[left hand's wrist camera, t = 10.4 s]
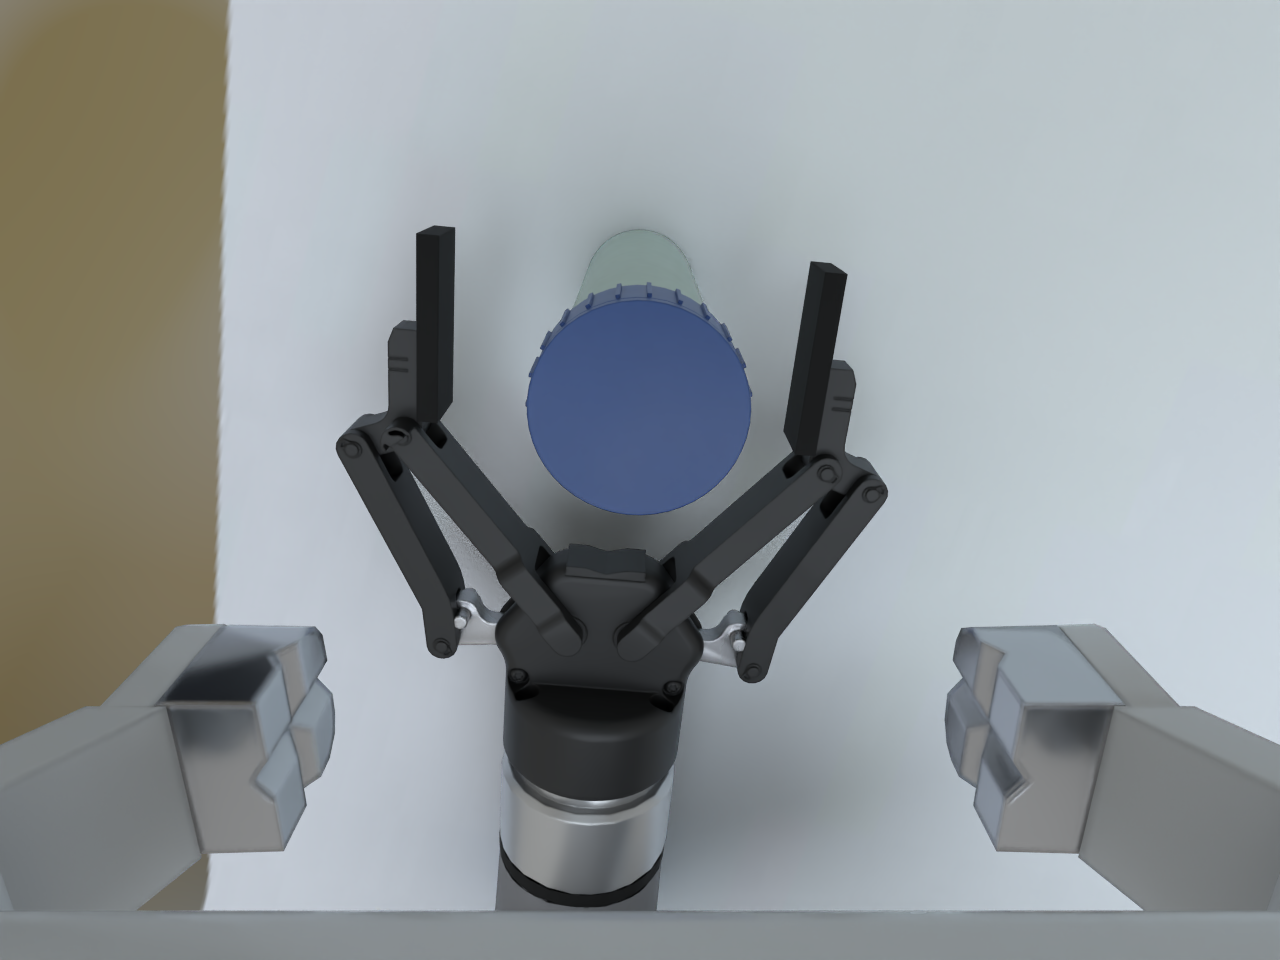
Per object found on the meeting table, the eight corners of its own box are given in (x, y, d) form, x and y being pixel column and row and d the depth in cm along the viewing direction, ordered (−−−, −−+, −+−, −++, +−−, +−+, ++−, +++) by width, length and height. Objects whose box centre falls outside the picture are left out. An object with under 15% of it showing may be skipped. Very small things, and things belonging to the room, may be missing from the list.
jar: (627, 207, 36) (617, 270, 19) (713, 273, 37) (774, 387, 20) (565, 295, 37) (505, 426, 20) (649, 356, 38) (657, 529, 21)
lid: (615, 235, 20) (613, 246, 18) (787, 366, 22) (802, 389, 20) (493, 408, 22) (479, 435, 20) (660, 521, 23) (662, 557, 21)
